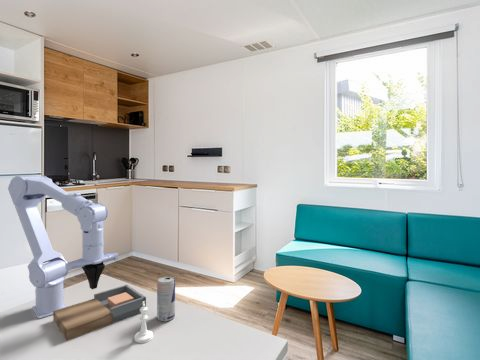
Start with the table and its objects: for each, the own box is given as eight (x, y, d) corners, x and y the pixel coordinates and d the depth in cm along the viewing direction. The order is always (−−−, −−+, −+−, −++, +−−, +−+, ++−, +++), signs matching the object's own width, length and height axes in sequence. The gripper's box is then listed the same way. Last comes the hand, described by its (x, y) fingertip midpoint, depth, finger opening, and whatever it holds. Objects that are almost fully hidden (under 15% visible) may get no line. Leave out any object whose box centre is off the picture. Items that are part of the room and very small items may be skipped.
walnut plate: (53, 320, 85) (53, 311, 85) (95, 307, 94) (95, 298, 94) (67, 340, 75) (67, 329, 75) (113, 323, 84) (113, 313, 84)
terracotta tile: (107, 303, 92) (107, 297, 92) (125, 297, 97) (125, 292, 97) (115, 310, 88) (115, 304, 88) (133, 303, 93) (133, 297, 92)
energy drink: (177, 313, 90) (177, 276, 90) (171, 322, 85) (171, 283, 85) (161, 312, 91) (161, 275, 90) (154, 321, 86) (154, 282, 85)
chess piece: (135, 345, 74) (135, 307, 74) (133, 335, 78) (132, 299, 78) (154, 340, 76) (154, 303, 76) (151, 330, 81) (151, 296, 80)
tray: (94, 307, 93) (94, 294, 93) (126, 296, 101) (126, 284, 101) (111, 324, 84) (111, 309, 84) (146, 310, 92) (146, 297, 92)
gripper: (70, 251, 78) (71, 299, 79) (122, 242, 89) (122, 284, 89) (62, 246, 83) (63, 291, 84) (112, 238, 94) (112, 278, 94)
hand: (93, 287), depth 87 cm, fingers closed
